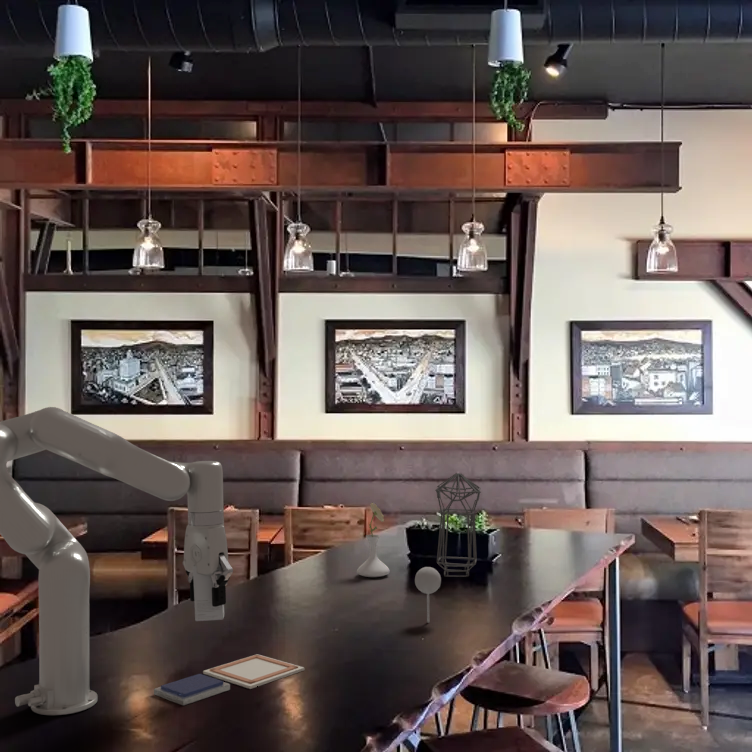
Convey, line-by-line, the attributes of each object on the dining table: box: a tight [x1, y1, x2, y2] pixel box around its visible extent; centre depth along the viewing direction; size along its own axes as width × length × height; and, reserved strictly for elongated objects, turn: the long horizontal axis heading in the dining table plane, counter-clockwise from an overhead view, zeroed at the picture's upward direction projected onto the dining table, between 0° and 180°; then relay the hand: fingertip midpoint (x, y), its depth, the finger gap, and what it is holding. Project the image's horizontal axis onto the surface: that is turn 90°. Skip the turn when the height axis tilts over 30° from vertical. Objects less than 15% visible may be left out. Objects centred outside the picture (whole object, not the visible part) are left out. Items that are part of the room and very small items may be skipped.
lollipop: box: [414, 566, 442, 624], centre depth 233 cm, size 7×7×15 cm
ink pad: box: [153, 673, 231, 706], centre depth 179 cm, size 12×10×2 cm
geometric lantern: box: [435, 472, 482, 578], centre depth 296 cm, size 16×16×35 cm
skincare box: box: [193, 565, 225, 622], centre depth 183 cm, size 6×4×12 cm
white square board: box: [202, 653, 306, 690], centre depth 192 cm, size 16×16×1 cm
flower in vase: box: [356, 502, 390, 578], centre depth 295 cm, size 13×11×25 cm
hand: (207, 602), depth 183 cm, fingers closed on skincare box, 6 cm apart
